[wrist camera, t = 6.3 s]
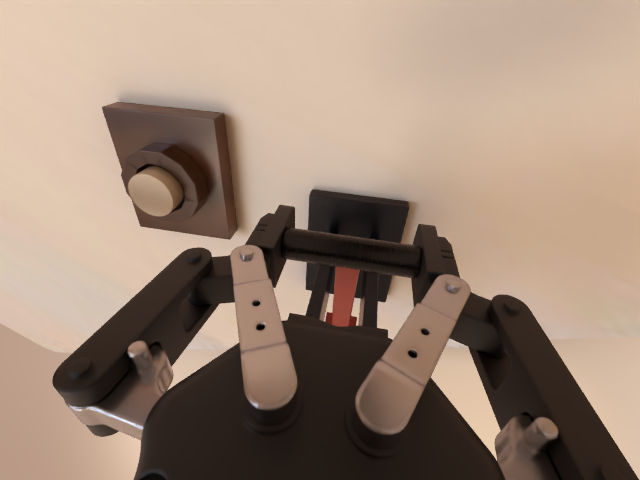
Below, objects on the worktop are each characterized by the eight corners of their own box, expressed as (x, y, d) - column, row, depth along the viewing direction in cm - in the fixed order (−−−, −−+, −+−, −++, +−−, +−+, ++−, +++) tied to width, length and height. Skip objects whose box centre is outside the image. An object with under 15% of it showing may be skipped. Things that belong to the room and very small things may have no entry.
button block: (117, 101, 28) (82, 112, 25) (224, 112, 27) (202, 125, 24) (151, 217, 35) (127, 237, 32) (237, 229, 34) (222, 251, 31)
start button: (135, 163, 27) (121, 171, 26) (178, 168, 27) (167, 177, 26) (147, 204, 30) (135, 213, 28) (187, 209, 29) (177, 219, 28)
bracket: (311, 189, 30) (270, 284, 19) (408, 201, 29) (421, 309, 18) (307, 282, 37) (275, 391, 26) (385, 295, 36) (385, 413, 25)
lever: (289, 212, 15) (276, 256, 13) (421, 230, 14) (422, 278, 13) (303, 321, 26) (297, 351, 24) (377, 334, 25) (375, 365, 24)
